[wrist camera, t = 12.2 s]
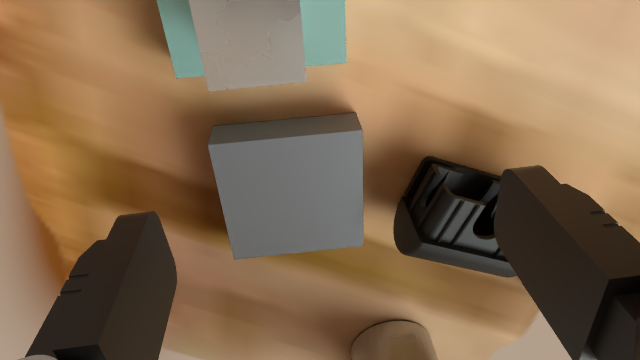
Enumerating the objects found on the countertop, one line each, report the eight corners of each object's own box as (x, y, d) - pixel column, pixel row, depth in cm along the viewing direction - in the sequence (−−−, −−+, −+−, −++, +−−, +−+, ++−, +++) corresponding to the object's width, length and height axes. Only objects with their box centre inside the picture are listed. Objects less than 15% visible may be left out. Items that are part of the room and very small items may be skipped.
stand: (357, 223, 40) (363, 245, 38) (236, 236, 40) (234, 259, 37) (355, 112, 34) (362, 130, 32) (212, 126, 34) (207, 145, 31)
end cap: (384, 217, 40) (403, 271, 35) (419, 152, 37) (446, 200, 31) (477, 240, 43) (508, 293, 37) (518, 181, 39) (559, 230, 34)
